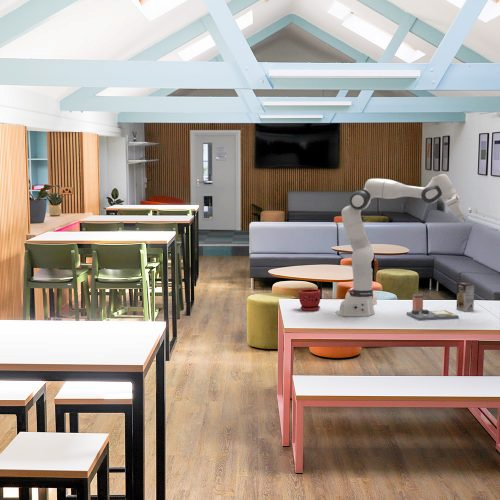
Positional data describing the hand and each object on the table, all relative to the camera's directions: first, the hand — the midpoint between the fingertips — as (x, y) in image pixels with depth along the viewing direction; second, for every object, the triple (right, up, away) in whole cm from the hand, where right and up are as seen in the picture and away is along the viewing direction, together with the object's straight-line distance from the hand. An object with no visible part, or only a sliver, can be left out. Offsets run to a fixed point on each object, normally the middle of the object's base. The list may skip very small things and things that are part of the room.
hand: (463, 221), depth 432 cm
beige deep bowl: (-49, -49, +56) cm, 89 cm away
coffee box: (+9, -52, +30) cm, 60 cm away
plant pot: (-83, -52, +35) cm, 104 cm away
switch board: (-15, -54, +11) cm, 57 cm away
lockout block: (-20, -52, +26) cm, 61 cm away
